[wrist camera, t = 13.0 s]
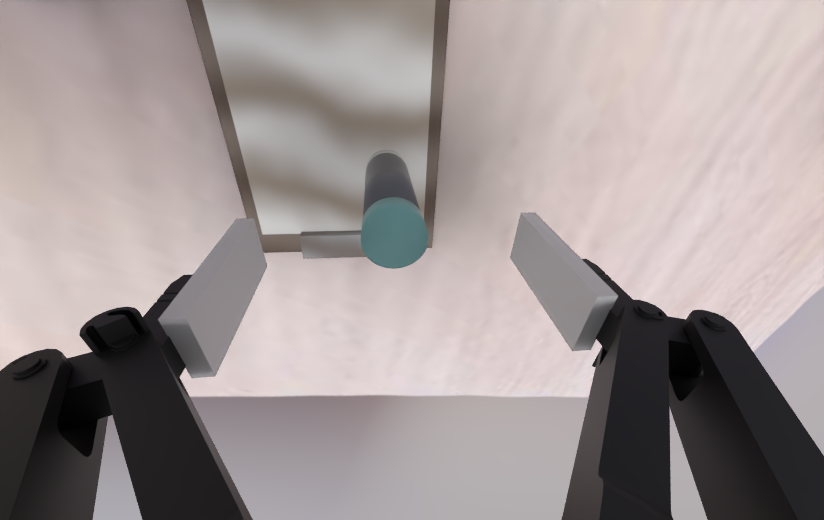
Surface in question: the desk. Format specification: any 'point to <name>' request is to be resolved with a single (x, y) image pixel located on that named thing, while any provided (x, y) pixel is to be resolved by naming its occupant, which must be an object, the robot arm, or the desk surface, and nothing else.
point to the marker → (391, 213)
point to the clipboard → (324, 108)
